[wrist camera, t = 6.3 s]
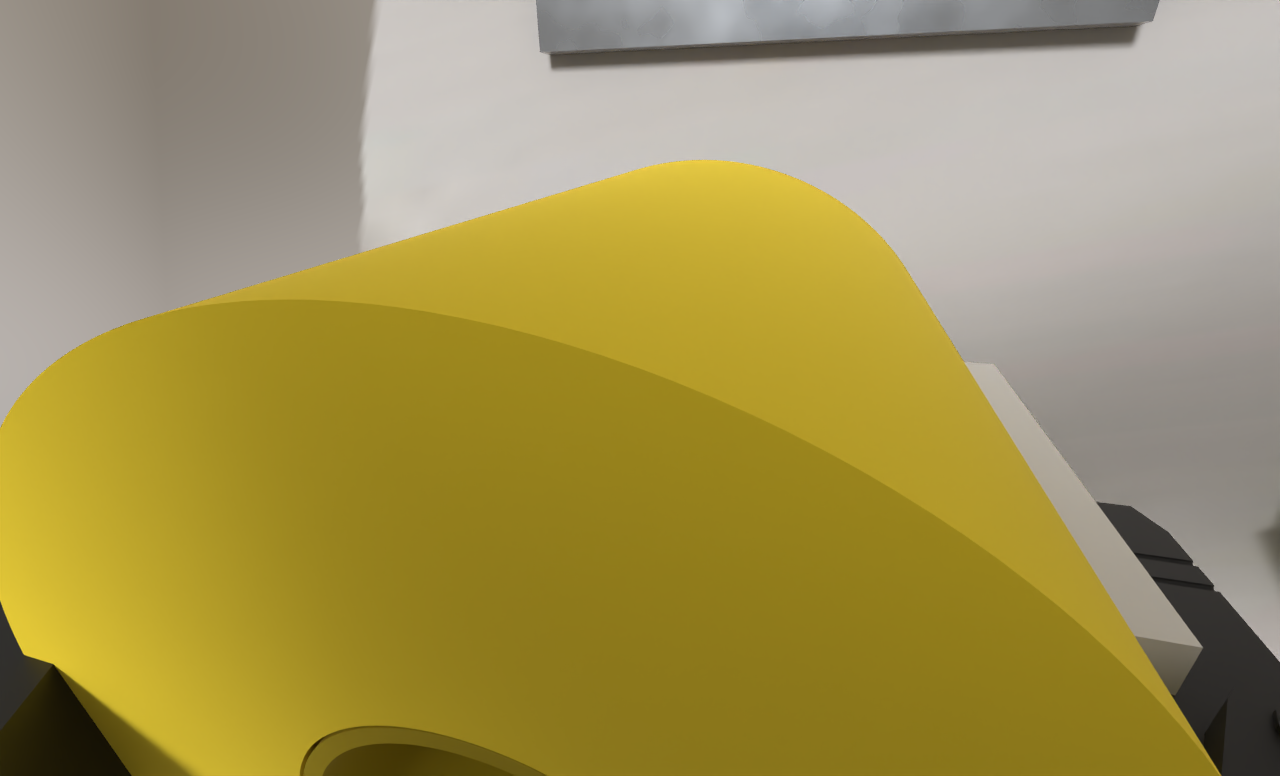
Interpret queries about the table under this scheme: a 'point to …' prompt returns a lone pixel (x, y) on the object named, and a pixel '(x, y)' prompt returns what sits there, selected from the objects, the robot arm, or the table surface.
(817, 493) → the tape roll
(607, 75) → the table surface
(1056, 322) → the table surface
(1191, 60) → the table surface
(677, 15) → the ring collar plate
